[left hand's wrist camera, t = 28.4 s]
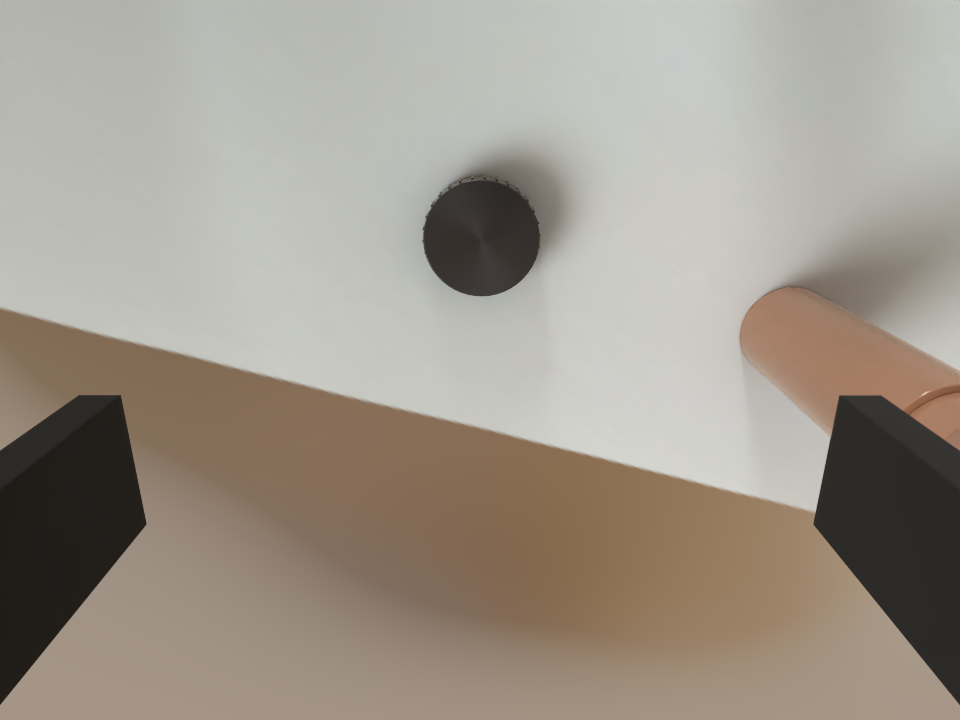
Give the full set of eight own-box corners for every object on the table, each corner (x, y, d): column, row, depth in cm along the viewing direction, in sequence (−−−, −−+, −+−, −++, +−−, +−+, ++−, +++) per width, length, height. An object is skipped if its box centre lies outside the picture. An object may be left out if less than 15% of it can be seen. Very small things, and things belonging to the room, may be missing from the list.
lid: (512, 303, 40) (514, 313, 38) (409, 264, 39) (405, 273, 37) (555, 199, 38) (560, 205, 35) (447, 156, 37) (445, 159, 35)
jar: (720, 332, 40) (879, 477, 24) (794, 267, 39) (1013, 375, 23) (776, 390, 42) (962, 564, 26) (849, 329, 40) (1094, 473, 24)
